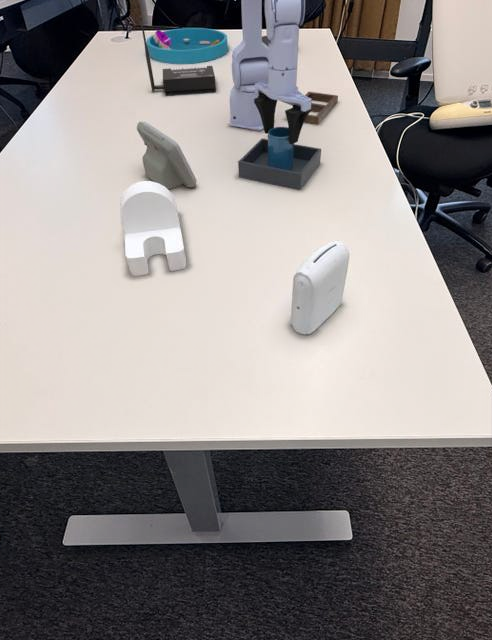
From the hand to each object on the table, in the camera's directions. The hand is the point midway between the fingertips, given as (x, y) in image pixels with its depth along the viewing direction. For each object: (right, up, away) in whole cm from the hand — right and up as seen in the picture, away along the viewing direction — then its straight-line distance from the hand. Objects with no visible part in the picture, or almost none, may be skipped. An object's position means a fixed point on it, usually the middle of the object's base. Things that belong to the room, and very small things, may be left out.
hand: (281, 137), depth 96 cm
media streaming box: (+2, +69, +66) cm, 96 cm away
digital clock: (-25, -7, +4) cm, 27 cm away
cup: (0, -4, +5) cm, 7 cm away
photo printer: (+4, -42, -26) cm, 50 cm away
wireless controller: (-29, +38, +43) cm, 65 cm away
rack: (+11, +22, +29) cm, 38 cm away
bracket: (-25, -27, -12) cm, 39 cm away
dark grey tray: (0, -5, +6) cm, 8 cm away
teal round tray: (-31, +68, +68) cm, 101 cm away
